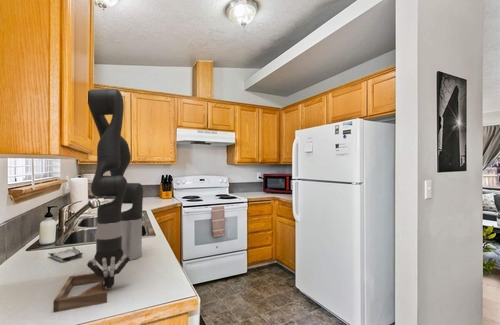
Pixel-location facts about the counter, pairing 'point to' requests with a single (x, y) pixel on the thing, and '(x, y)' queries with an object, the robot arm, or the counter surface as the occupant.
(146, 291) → the counter surface
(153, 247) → the counter surface
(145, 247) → the counter surface
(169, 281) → the counter surface
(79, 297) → the wooden c-shaped bracket
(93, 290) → the shard
